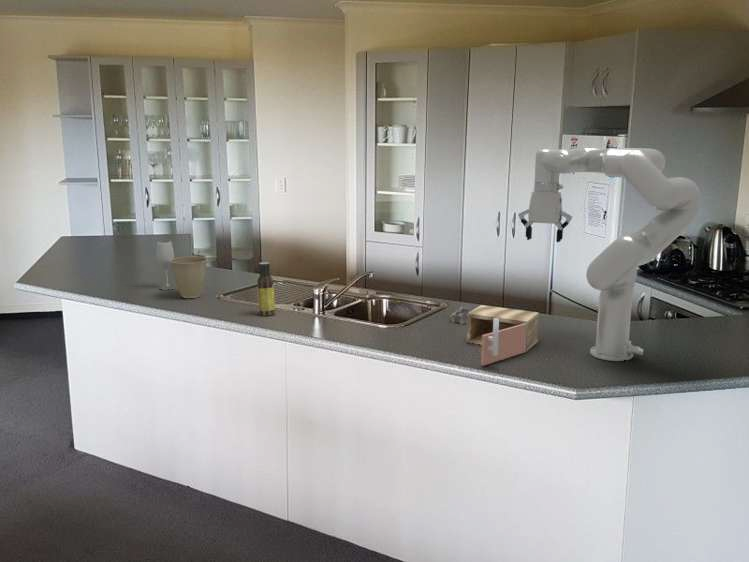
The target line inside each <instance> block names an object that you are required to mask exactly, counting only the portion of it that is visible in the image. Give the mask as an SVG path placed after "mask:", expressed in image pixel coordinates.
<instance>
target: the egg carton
mask: <svg viewBox="0 0 749 562" xmlns="http://www.w3.org/2000/svg"><path fill="white" fill-rule="evenodd" d="M469 312H470V311H469V308H468V307H467V308H466V307H465V306H464V305H463V306H460V307H459V308H458V310H456V311H454V312H452V314H450V315H449V317H450V322H451V323H453V322H455V323H459V324H460V325H467V315H468V313H469Z"/></svg>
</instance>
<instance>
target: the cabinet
mask: <svg viewBox="0 0 749 562" xmlns="http://www.w3.org/2000/svg"><path fill="white" fill-rule="evenodd" d="M539 316H540V312H538V311H537V312H536V311H529V310H523V309H514V308H507V307H500V306H491V305H483V304H481V305H479V306H478V307H475V308H474V309H472V310H471V311H469V313H468V315H467V324H466V325H467V327H466V329H467V330H466V343H467V342H469V343H468V344H472V343H474V344H473V345H478V344H480V346H482V335H485V334H488V333H492V332H493V319H494V318H499V330H503V329H506V328H510V327H513V326H517V325H521V324H524V323H528V337H527V352H528V351H529V350H530V349H532V347H534V346H535V345H536V344H537V343H538V340H539V339H538V338H539V318H540V317H539Z"/></svg>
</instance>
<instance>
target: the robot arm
mask: <svg viewBox="0 0 749 562" xmlns="http://www.w3.org/2000/svg"><path fill="white" fill-rule="evenodd" d="M536 150H537V149H536ZM534 163H535V164H534V165H535V166H534V185H533V186H534V188H533V189H534V190H533V191H532V192H531V196H530V198H529V199H530V200H529V205H528V209H526V210H524V211H522V212H519V213H518V214H517V215H518V218H519V221H520V223H521V224H523V225H524V227H525V238H526V240H527V241H530V240H531V239H532V237H533V236H532V235H533V234H532V233H533V227H532V225H533V224H535V223H537V224H550V225H555V226H556V228H557V230H556V240H555V241H556V243H560V242H562V240H563V236H564V235H563V233H564V229H565V228H566V227H567V226H568V225H569V223H571V221H572V219H573V216H572V215H571V214H569V213H567V212H566V211H564V210H563V199H562V192H561V191H560V190H563V189H564V185H563V184H561V183H560V182H559V181H560V174H561V175H562V174H563V175H564V174H574V173H575V174H576V173H599V174H604V175H605V176H606V177H608V178H624V179H625V180H626V181H627V182H628V183H629V184H630V185H631V187H632V188H633V189H634V190H635V191H636V192H637V194H639V195H640V197H641V198H642V199H643V200H644V201H645V202H646V203H647V204H648V205H649V206H650V207H651V208H653V209H655V210H657V211H660V212H659V213H657V214H656V215H655V216H653V218H652V219H650V221H648V222H647V223H646V224H645V225H644V226H643V227H642V228H640V229H639V230H637V231H635V232H631V233H628V234H625V235H624V234H623V235H621V236H620V237H618V238H617V239H615V240H614V241H612V242H611V243H610V244H609V245H608V246H607V247H606V248H605V249H604V250H602V252H600V254H599V255H598V256H596V257H595V258H594V259H593V260H592V261H591V262H590V264H589V265H588V267H587V269H586V274H585V275H586V276H585V277H586V281H587V283H588V285H589V286H590V287H591V288H593V289H594V290H597V291H600V292H599V296H598V307H597V320H596V321H597V322H596V323H597V324H596V338H595V346H592V347H591V348H590V350H589V354H590V355H591V356H592V357H594V358H597V359H599V360H604V361H610V362H624V360H626V361H629V360H631V359H633V358H634V354H635V355H638V356H639V355H640V356H643V354H644V348H641V346H638V345H637V346H636V345H633V344H632V340H630V330H631V318H632V317H631V315H632V304H633V295H634V294H633V293H634V290H635V285H636V281H637V276H638V275H637V274H638V271H637V270H638V269H637V267H639V266H643V265H645V264H648V263H650V262H652V261H653V260H654V259H655V258H657V257H658V256H659V254H661V253H662V252H663V251H664V250H665V249H666V248H667V247H668V246H670V245H671V244H672V243H673V242H674V241H675V240H676V239H677V238H678V237H680V236H681V235H682V234H683V233H684V232H685V231H686V230H687V229H688V228H689V227H690V226H691V225H692V224H693V223H694V221H695V219H696V218H697V216H698V214H699V213H700V208H701V202H702V197H701V192H700V189H699V187H698V186H697V184H696V182H694V181H693V180H692V179H690V178H687V177H680V176H678V177H670V178H668V177H666V176H665V174H663V171H664V169H665V166H666V159H665V156H664V154H663V153H662V152H661V151H660V150H658V149H655V148H650V147H649V148H648V147H647V148H645V147H643V148H640V147H636V148H635V147H608V148H598V147H597V148H594V147H593V148H592V147H589V148H588V147H586V148H585V147H574V148H561V149H557V148H539V149H538V150H537V151H536V152H535V162H534ZM527 214H528V215H527ZM526 215H527V216H528V220H527V219H526V218H525V216H526ZM563 218H565V219H566V220H565V221H564V222H563V223H562V220H563Z"/></svg>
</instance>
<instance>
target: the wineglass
mask: <svg viewBox="0 0 749 562" xmlns="http://www.w3.org/2000/svg"><path fill="white" fill-rule="evenodd" d="M173 247H174V246H173V243H172V240H158V241H157V242H156V249H155V258H156V261H157V263H158V264H159V265H160V266H161V267H162V268H164V270H165V281H166V284H165V286H170V284H169V277H168V275H169V274H168V268H169V267H170V266H171V263H170V260H172V259H175V251H174V248H173Z"/></svg>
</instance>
